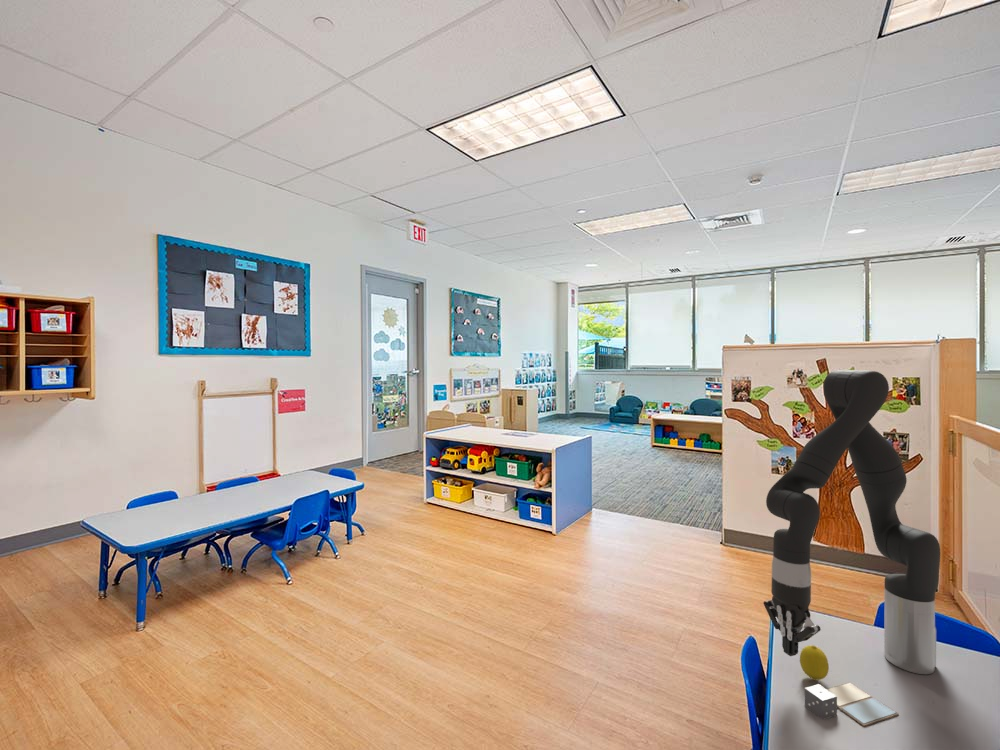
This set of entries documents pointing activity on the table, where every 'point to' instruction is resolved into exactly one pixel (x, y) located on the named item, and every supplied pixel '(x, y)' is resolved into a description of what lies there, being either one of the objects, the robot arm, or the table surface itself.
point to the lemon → (814, 662)
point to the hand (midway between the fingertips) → (789, 653)
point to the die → (820, 701)
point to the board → (860, 705)
